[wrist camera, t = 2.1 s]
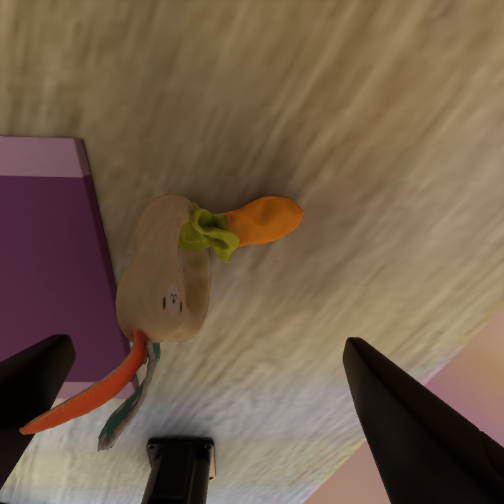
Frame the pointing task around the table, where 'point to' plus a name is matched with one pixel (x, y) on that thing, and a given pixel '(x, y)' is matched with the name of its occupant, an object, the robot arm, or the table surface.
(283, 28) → the table surface
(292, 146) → the table surface
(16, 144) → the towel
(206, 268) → the rattle
